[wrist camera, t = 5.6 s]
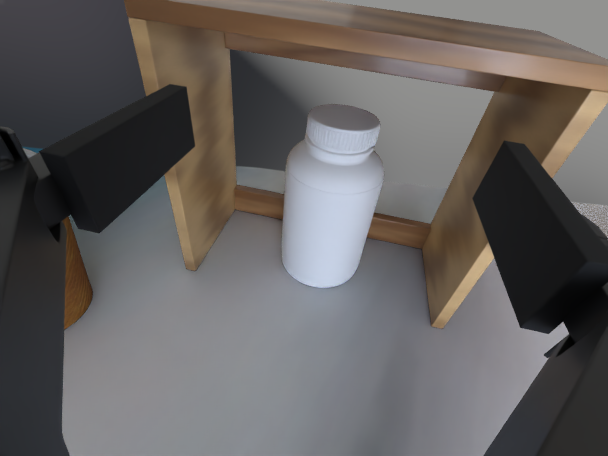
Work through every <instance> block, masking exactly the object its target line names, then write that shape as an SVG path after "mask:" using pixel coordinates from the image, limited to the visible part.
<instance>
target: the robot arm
mask: <svg viewBox="0 0 608 456" xmlns="http://www.w3.org/2000/svg"><path fill="white" fill-rule="evenodd" d="M194 147H195V140H194V133H193V127H192V120H191V113H190V106H189V100H188V93H187V87H185V86H179V85H173V84H169V85H167V86H165V87H163V88H161V89H159V90H157V91H155V92H153V93H151V94H150V95H148V96H146V97H144V98H142V99H140V100H138V101H136V102H134V103H132V104H130V105H128V106H126V107H125V108H122V109H120V110H118V111H117V112H115V113H113V114H111V115H109V116H107V117H105V118H103V119H101V120H99V121H97V122H95V123H93V124H91V125H89V126H88V127H86V128H84V129H82V130H80V131H78V132H76V133H74V134H72V135H70V136H68V137H66V138H64V139H62V140H60V141H59V142H56V143H55V144H53V145H51V146H49V147H47V148H45V149H43V150H41V151H39V153H37V154H35V155H33V156H32V157H30V158H28V157H27V155H26V153H25V151H24V150H23V148H22V146H21V144H20V142H19V140H18V138H17V137H16V135H15V133H14V131H13V130H12V129H10V128H7V127H0V456H69V452H68V450H67V447H66V445H65V442H64V439H63V434H62V396H63V356H64V316H65V276H66V236H67V230H66V227H65V225H64V223H63V221H62V220H64V219H65V218H66V217H68V216H69V215H70V214H71V215H72V217H73V219H74V221H75V223H76V225H77V227H78V229H83V230H87V231H92V232H96V233H100V232H102V231H103V230H104V229H105V228H106V227H107V226H108V225H109V224H110V223H111V222H113V221H114V220H115V219H116V218H117V217H118V216H119V215H120V214H121V213H123V212H124V211H125V210H126V209H127V208H128V207H129V206H130V205H131V204H132V203H134V202H135V201H136V200H137V199H138V198H139V197H140V196H141V195H142V194H143V193H145V192H146V191H147V190H148V189H149V188H150V187H151V186H152V185H153V184H154V183H156V182H157V181H158V180H159V179H160V178H161V177H162V176H163V175H164V174H165V173H167V172H168V171H169V170H170V169H171V168H172V167H173V166H174V165H175V164H176V163H178V162H179V161H180V160H181V159H182V158H183V157H184V156H185V155H186V154H187V153H189V152H190V151H191V150H192V149H193V148H194ZM472 199H473V202H474V205H475V207H476V210H477V213H478V215H479V218H480V221H481V223H482V226H483V229H484V231H485V234H486V237H487V239H488V242H489V245H490V247H491V250H492V253H493V256H494V258H495V261H496V264H497V266H498V269H499V272H500V274H501V277H502V280H503V282H504V285H505V288H506V290H507V293H508V296H509V298H510V301H511V304H512V306H513V309H514V312H515V314H516V317H517V320H518V322H519V325H520V328H525V329H529V330H534V331H538V332H542V333H547V334H549V333H550V332H551V331H553V330H554V329H555V328H556V327H557V326H558V325H559V324H561V323H562V322H564V324H565V326H566V328H567V330H568V332H569V335H567V336H566V337H565V338H564V339H563V340H561V341H560V342H559V343H558V344H556V345H555V346H554V347H553V348H551V349H550V350H549V351H548V352H547V353H545V354H544V356H546V357H547V358H549V359H548V360H547V362H546V363H545V365H544V366H543V368H542V369H541V371H540V372H539V374H538V375H537V377H536V378H535V380H534V381H533V383H532V384H531V386H530V387H529V389H528V390H527V392H526V393H525V395H524V396H523V398H522V399H521V401H520V402H519V404H518V405H517V406H516V408H515V409H514V411H513V412H512V414H511V415H510V417H509V418H508V420H507V421H506V423H505V424H504V426H503V427H502V429H501V430H500V432H499V433H498V435H497V436H496V438H495V439H494V441H493V442H492V444H491V445H490V447H489V448H488V450H487V451H486V453H485V454H484V456H608V240H607V239H608V238H607V237H606V236H605V234H604V233H603V232H602V231H601V230H600V228H599V227H598V226H597V225H595V224H594V223H593V222H591V221H590V220H589V219H587V218H586V217H585V216H583V215H581V214H580V213H579V212H578V210H577V209H576V208H575V207H574V205H573V204H572V203H571V202H570V200H569V199H568V198H567V197H566V196H565V194H564V193H563V192H562V190H561V189H560V188H559V187H558V185H557V184H556V183H555V182H554V180H553V179H552V178H551V177H550V175H549V174H548V173H547V172H546V170H545V169H544V168H543V166H542V165H541V164H540V163H539V161H538V160H537V159H536V158H535V156H534V155H533V154H532V153H531V151H530V150H529V149H528V148H527V146H526V145H525V144H522V143H516V142H510V141H503V143H502V145H501V147H500V149H499V150H498V152H497V154H496V156H495V158H494V159H493V161H492V163H491V165H490V167H489V169H488V170H487V172H486V174H485V176H484V178H483V180H482V181H481V183H480V185H479V187H478V189H477V190H476V192H475V194H474V196H473V198H472Z"/></svg>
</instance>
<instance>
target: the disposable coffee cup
mask: <svg viewBox="0 0 608 456" xmlns="http://www.w3.org/2000/svg"><path fill="white" fill-rule="evenodd" d="M23 150H24V151H25V153H26V155H27V157H28V158H30V157H32V156H33V155H35V154H37V153H35V152H33V151H30V150H27V149H24V148H23ZM62 221H63V223H64V225H65V227H66V230H67V236H66V276H65V316H64V330H65V329H66V328H68V327H69V326H71V325H72V324H73V323H75V322H76V321H77V320H78V319H79V318H80V317H81V316H82V315H83V314H84V313H85V311H86V310H87V309H88V307H89V305H90V303H91V300H92V295H93V291H92V288H91V285H90V282H89V279H88V276H87V273H86V270H85V267H84V263H83V260H82V257H81V254H80V251H79V248H78V245H77V241H76V238H75V235H74V232H73V229H72V226H71V223H70V220H69V217H66V218H65V219H64V220H62Z"/></svg>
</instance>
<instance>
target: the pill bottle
mask: <svg viewBox="0 0 608 456" xmlns="http://www.w3.org/2000/svg"><path fill="white" fill-rule="evenodd" d="M380 126H381V124H380V121H379V119H378V118H377V117H376V116H375V115H374V114H372V113H370V112H368V111H366V110H363V109H360V108H357V107H353V106H348V105H338V104H328V105H320V106H317V107H314V108H313V109H312V110H311V111H310V112H309V113H308V119H307V129H306V134H305V140H303V141H301V142H299V143H298V144H297V145H296V146H295V147H294V148H293V149H292V150H291V152H290V154H289V156H288V158H287V162H286V172H285V191H284V209H283V227H282V245H281V255H282V262H283V265H284V267H285V269H286V270H287V272H288V273H289V274H290V275H291V276H292V277H293V278H294V279H296V280H297V281H299V282H301V283H303V284H305V285H308V286H312V287H317V288H330V287H335V286H338V285H341V284H343V283H345V282H346V281H348V280H349V279H350V278H351V277H352V276H353V275H354V273H355V271H356V269H357V267H358V265H359V261H360V258H361V255H362V251H363V248H364V244H365V241H366V238H367V234H368V231H369V228H370V224H371V221H372V217H373V214H374V211H375V207H376V204H377V201H378V197H379V194H380V191H381V187H382V184H383V180H384V166H383V162H382V160H381V158H380V157H379V155H378V154H377V153H376V152H375V151H374V147H375V143H376V141H377V138H378V134H379V130H380Z"/></svg>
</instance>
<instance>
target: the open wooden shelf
mask: <svg viewBox="0 0 608 456" xmlns="http://www.w3.org/2000/svg"><path fill="white" fill-rule="evenodd" d="M124 3H125V7H126V11H127V16H128V17H130V18H129V23H130V27H131V32H132V36H133V41H134V45H135V49H136V54H137V58H138V62H139V66H140V71H141V75H142V79H143V84H144V88H145V92H146V96H148V95H150V94H151V93H153V92H155V91H157V90H159V89H161V88H163V87H165V86H167V85H169V84H173V85H179V86H185V87H187V93H188V100H189V106H190V113H191V120H192V127H193V133H194V140H195V147H194V148H193V149H192V150H191V151H190V152H189V153H187V154H186V155H185V156H184V157H183V158H182V159H181V160H180V161H179V162H178V163H176V164H175V165H174V166H173V167H172V168H171V169H170V170H169V171H168V172H167V173H165V174H164V175H165V179H166V184H167V188H168V192H169V197H170V201H171V205H172V210H173V214H174V218H175V223H176V227H177V231H178V236H179V240H180V244H181V249H182V253H183V257H184V262H185V266H186V269H188V270H192V271H196V270H197V268H198V267H199V265H200V264H201V262H202V260H203V259H204V257H205V256H206V254H207V253H208V251H209V249H210V248H211V246H212V245H213V243H214V242H215V240H216V238H217V237H218V235H219V234H220V232H221V231H222V229H223V227H224V226H225V224H226V223H227V221H228V220H229V218H230V216H231V215H232V213H233V212H234V210H239V211H244V212H249V213H253V214H258V215H263V216H268V217H272V218H277V219H282V220H283V209H284V194H281V193H276V192H271V191H266V190H261V189H256V188H251V187H246V186H241V185H237V181H236V163H235V144H234V127H233V107H232V90H231V70H230V53H229V49H234V50H241V51H247V52H253V53H259V54H265V55H271V56H277V57H284V58H290V59H296V60H302V61H309V62H315V63H321V64H327V65H334V66H339V67H346V68H352V69H359V70H364V71H371V72H377V73H384V74H390V75H395V76H402V77H408V78H414V79H420V80H426V81H433V82H439V83H446V84H452V85H458V86H464V87H471V88H476V89H483V90H489V91H495V92H494V94H493V96H492V98H491V100H490V103H489V104H488V107H487V109H486V111H485V113H484V115H483V117H482V119H481V121H480V123H479V125H478V127H477V129H476V131H475V133H474V136H473V138H472V140H471V142H470V144H469V146H468V148H467V150H466V152H465V154H464V156H463V158H462V160H461V163H460V164H459V167H458V169H457V171H456V173H455V175H454V177H453V179H452V181H451V183H450V185H449V187H448V189H447V191H446V193H445V196H444V198H443V200H442V202H441V204H440V206H439V208H438V210H437V212H436V214H435V216H434V218H433V220H432V222H431V225H430V224H428V223H423V222H418V221H414V220H409V219H404V218H399V217H394V216H389V215H384V214H379V213H374V214H373V217H372V221H371V224H370V228H369V231H368V234H367V238H372V239H377V240H381V241H386V242H391V243H396V244H400V245H405V246H410V247H415V248H419V249H422V253H423V261H424V269H425V278H426V286H427V294H428V302H429V310H430V319H431V326H432V327H436V328H441V329H443V327H444V326H445V325H446V323H447V322H448V321H449V319H450V318H451V316H452V315H453V314H454V312H455V311H456V310H457V308H458V307H459V306H460V304H461V303H462V301H463V300H464V299H465V297H466V296H467V295H468V293H469V292H470V290H471V289H472V288H473V286H474V285H475V284H476V282H477V281H478V279H479V278H480V277H481V275H482V274H483V273H484V271H485V270H486V269H487V267H488V266H489V264H490V263H491V262H492V260H493V259H494V256H493V253H492V250H491V247H490V245H489V242H488V239H487V237H486V234H485V231H484V229H483V226H482V223H481V221H480V218H479V215H478V213H477V210H476V207H475V205H474V202H473V199H472V198H473V196H474V194H475V192H476V190H477V189H478V187H479V185H480V183H481V181H482V180H483V178H484V176H485V174H486V172H487V170H488V169H489V167H490V165H491V163H492V161H493V159H494V158H495V156H496V154H497V152H498V150H499V149H500V147H501V145H502V143H503V141H510V142H516V143H522V144H525V145H526V146H527V148H528V149H529V150H530V151H531V153H532V154H533V155H534V156H535V158H536V159H537V160H538V161H539V163H540V164H541V165H542V166H543V168H544V169H545V170H546V172H547V173H548V174H549V175H550V177H551V178H553V177H554V175H555V174H556V173H557V171H558V170H559V168H560V167H561V166H562V164H563V163H564V162H565V160H566V159H567V158H568V156H569V155H570V153H571V152H572V151H573V149H574V148H575V146H576V145H577V144H578V142H579V141H580V140H581V138H582V137H583V135H584V134H585V133H586V131H587V130H588V129H589V127H590V126H591V125H592V123H593V122H594V120H595V119H596V118H597V116H598V115H599V114H600V112H601V111H602V110H603V108H604V107H605V105H606V104H607V103H608V59H605V58H603V57H600V56H598V55H595V54H593V53H590V52H588V51H585V50H583V49H581V48H578V47H576V46H573V45H571V44H569V43H566V42H564V41H561V40H559V39H556V38H554V37H551V36H549V35H547V34H544V33H542V32H539V31H534V30H526V29H519V28H512V27H505V26H499V25H491V24H484V23H477V22H469V21H463V20H456V19H449V18H442V17H435V16H427V15H421V14H414V13H407V12H400V11H393V10H386V9H378V8H371V7H364V6H357V5H350V4H343V3H336V2H328V1H322V0H124Z"/></svg>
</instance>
